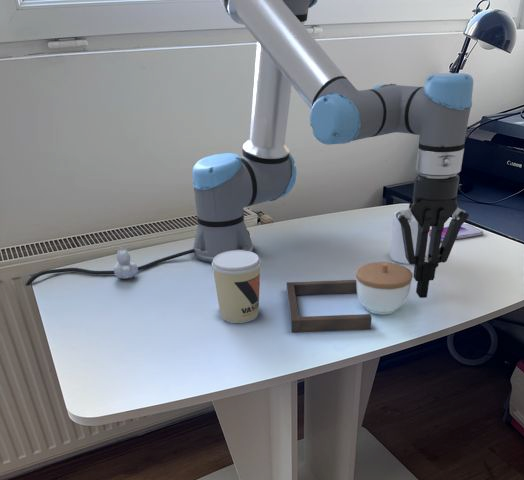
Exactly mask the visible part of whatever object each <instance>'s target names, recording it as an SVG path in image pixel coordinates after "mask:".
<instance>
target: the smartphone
mask: <svg viewBox="0 0 524 480" xmlns="http://www.w3.org/2000/svg"><path fill="white" fill-rule="evenodd" d="M447 229H448V226H444V229H443V232H442V236H441V242H442V241H443V239H444V236H445V234H446V231H447ZM483 235H484V231H483V230H480V229H479V228H478V227H476V226H473V225H471V224H469V223H463V224H462V226H461V228H460V230H459V233H458V235H457V238H456V240H458V239H465V238H470V237H478V236H483ZM429 236H431V229H430V233H429Z"/></svg>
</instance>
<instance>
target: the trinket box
mask: <svg viewBox="0 0 524 480" xmlns="http://www.w3.org/2000/svg"><path fill="white" fill-rule="evenodd" d="M355 277H356V279H355V280H356V289H357V293H356V295H357V298H358V300H359V302H360V303H361V305H363V307H364V308H365V310H366V311H368V312H369V313H371V314H374V315H378V316H379V315H382V316H383V315H384V316H385V315H386V316H387V315H391V314H393V313H395V312H396V311H397V310H398V309H399V308H400V307H402V306H403V305H404V304H405V302H406V300H407V299H408V297H409V294H410V290H411V284H412V281H413V272H412V271H411V269H410V268H408V267H407V266H404V265H402V264H400V263H395V262H387V261H376V262H375V261H374V262H369V263H364V264H363V265H360V266H359V267H358V268H357V269H356V272H355Z"/></svg>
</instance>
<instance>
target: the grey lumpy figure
mask: <svg viewBox="0 0 524 480" xmlns="http://www.w3.org/2000/svg"><path fill="white" fill-rule="evenodd" d="M115 256H116V261H117V262H116V264H115V265H114V266H113V271H114V273H115V274H114V276H116V277H117V278H119V279H125V280H126V279H131V278H133V277H135V276H136V275H137V274H138V272H139V271H138V267H139V266H138V265H137V263H136V262H135V261H133V260H131V254H130V252H129V251H128V250H127V248H123V246H122V245H120V249H118V250H117V253H116V255H115Z"/></svg>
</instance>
